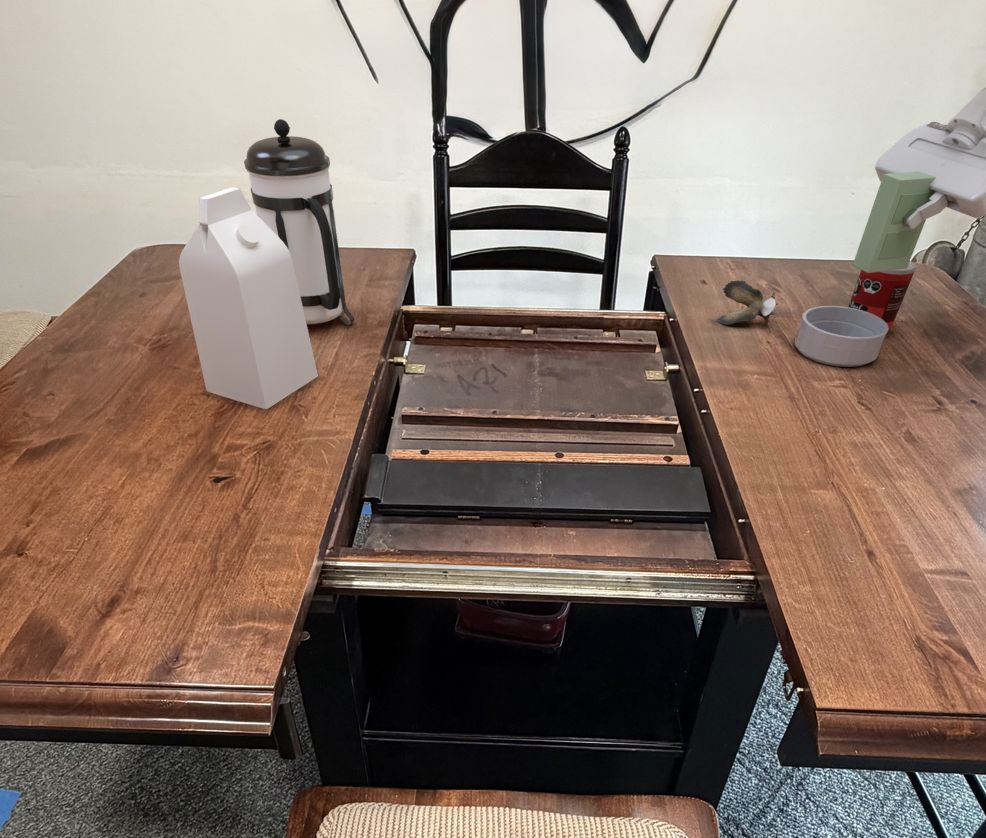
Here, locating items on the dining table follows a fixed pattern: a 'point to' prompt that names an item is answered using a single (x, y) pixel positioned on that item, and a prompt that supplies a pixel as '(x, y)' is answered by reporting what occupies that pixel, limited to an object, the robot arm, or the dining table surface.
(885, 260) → the toy door
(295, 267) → the coffee press
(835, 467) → the dining table surface
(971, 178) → the robot arm
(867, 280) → the canned food
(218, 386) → the milk
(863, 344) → the bowl
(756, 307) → the eagle figurine
